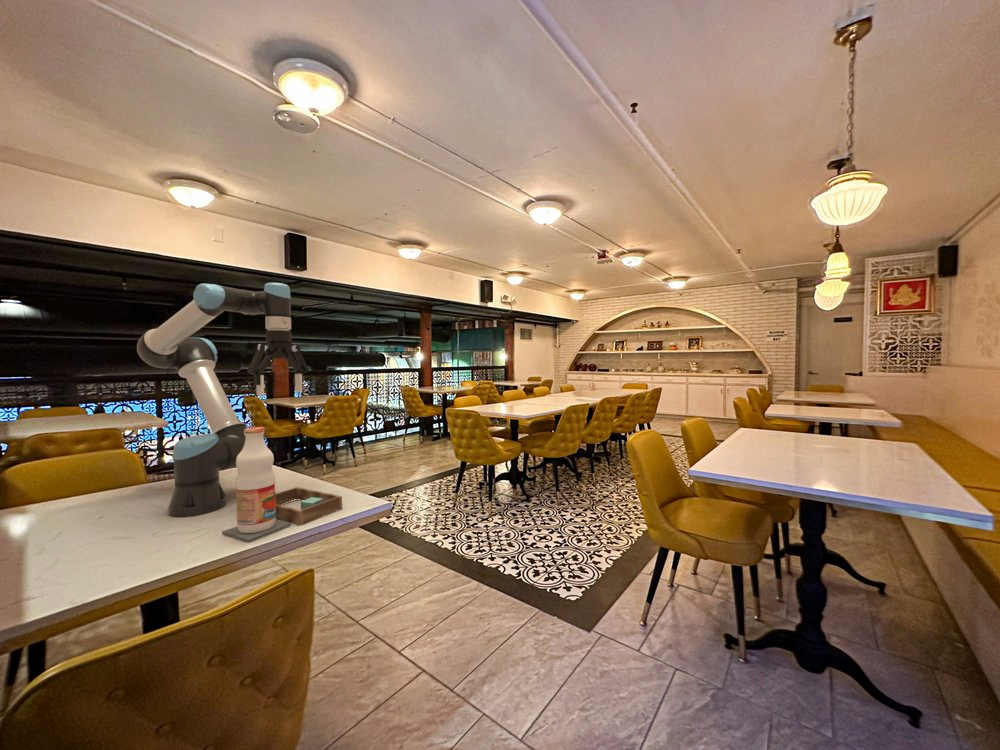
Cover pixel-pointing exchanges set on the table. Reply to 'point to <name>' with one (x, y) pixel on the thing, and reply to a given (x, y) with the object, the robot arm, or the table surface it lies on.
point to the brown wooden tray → (309, 513)
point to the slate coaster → (254, 536)
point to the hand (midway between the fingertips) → (280, 393)
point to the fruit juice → (255, 484)
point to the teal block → (310, 502)
